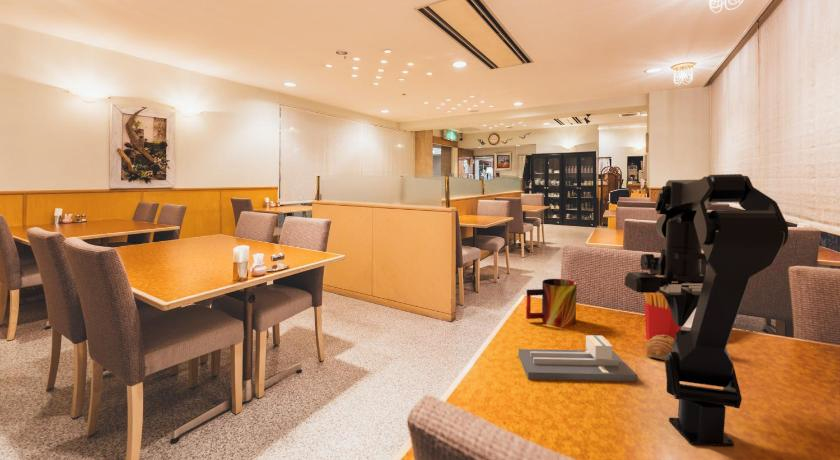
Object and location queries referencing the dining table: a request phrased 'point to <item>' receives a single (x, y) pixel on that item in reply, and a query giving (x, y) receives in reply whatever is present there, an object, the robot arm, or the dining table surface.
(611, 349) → the block
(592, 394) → the dining table surface
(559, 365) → the grey slider panel
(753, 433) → the dining table surface
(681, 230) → the robot arm
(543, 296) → the mug
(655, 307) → the french fries
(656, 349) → the pastry
